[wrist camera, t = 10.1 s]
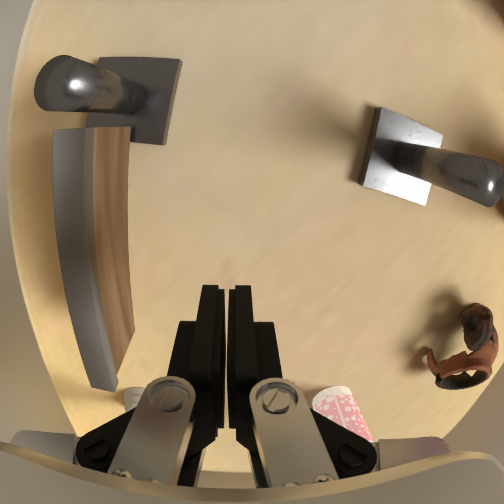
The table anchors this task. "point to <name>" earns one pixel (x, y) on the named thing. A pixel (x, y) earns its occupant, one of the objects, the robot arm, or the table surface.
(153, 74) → the gate frame
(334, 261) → the table surface
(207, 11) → the table surface
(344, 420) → the beverage cup
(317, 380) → the table surface
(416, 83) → the table surface
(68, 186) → the gate
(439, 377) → the brown curved irregular piece
